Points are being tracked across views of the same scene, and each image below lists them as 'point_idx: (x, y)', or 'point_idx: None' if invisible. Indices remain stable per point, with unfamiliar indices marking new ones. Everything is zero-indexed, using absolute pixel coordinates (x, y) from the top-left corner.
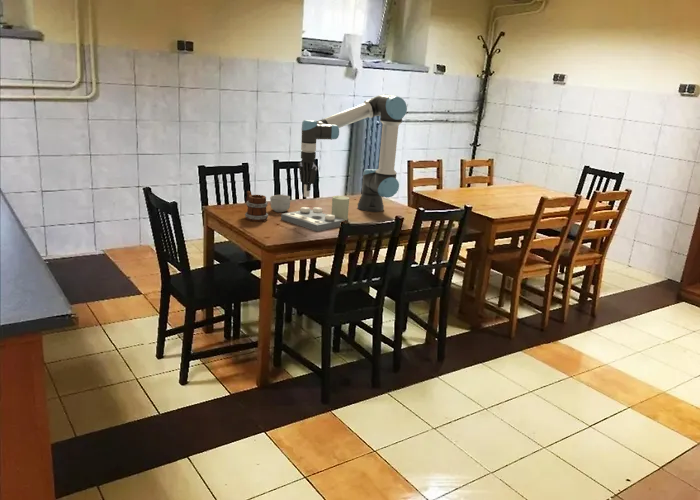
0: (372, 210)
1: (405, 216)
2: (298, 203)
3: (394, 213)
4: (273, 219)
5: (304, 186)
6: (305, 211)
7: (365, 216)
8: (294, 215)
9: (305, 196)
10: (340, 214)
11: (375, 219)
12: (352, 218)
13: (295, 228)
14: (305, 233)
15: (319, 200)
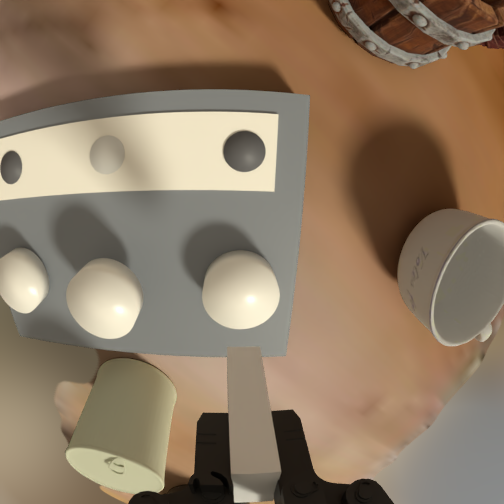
0: (174, 490)
1: (103, 488)
2: (422, 394)
3: None
4: (329, 66)
5: (268, 444)
6: (212, 267)
7: None
8: (202, 134)
9: (233, 351)
10: (93, 387)
11: None
12: None
13: (90, 46)
14: (13, 51)
15: (381, 455)
